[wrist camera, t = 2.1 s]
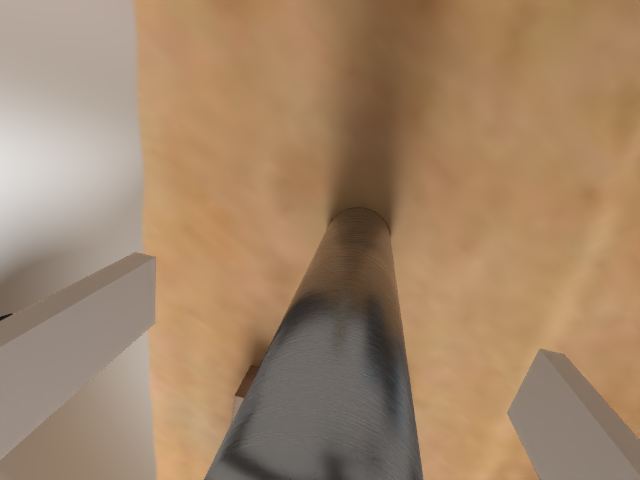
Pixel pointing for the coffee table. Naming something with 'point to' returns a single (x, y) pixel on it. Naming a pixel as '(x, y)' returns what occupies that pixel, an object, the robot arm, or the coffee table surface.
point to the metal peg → (332, 373)
